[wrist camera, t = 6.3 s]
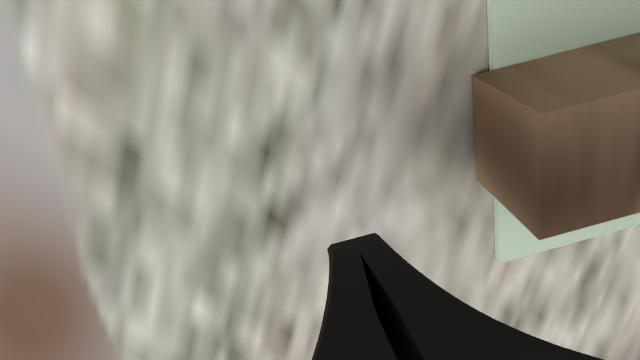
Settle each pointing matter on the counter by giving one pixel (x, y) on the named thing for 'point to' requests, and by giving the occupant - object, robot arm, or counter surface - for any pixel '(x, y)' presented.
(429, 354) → the robot arm
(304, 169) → the counter surface
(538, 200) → the walnut block
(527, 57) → the sage mat
